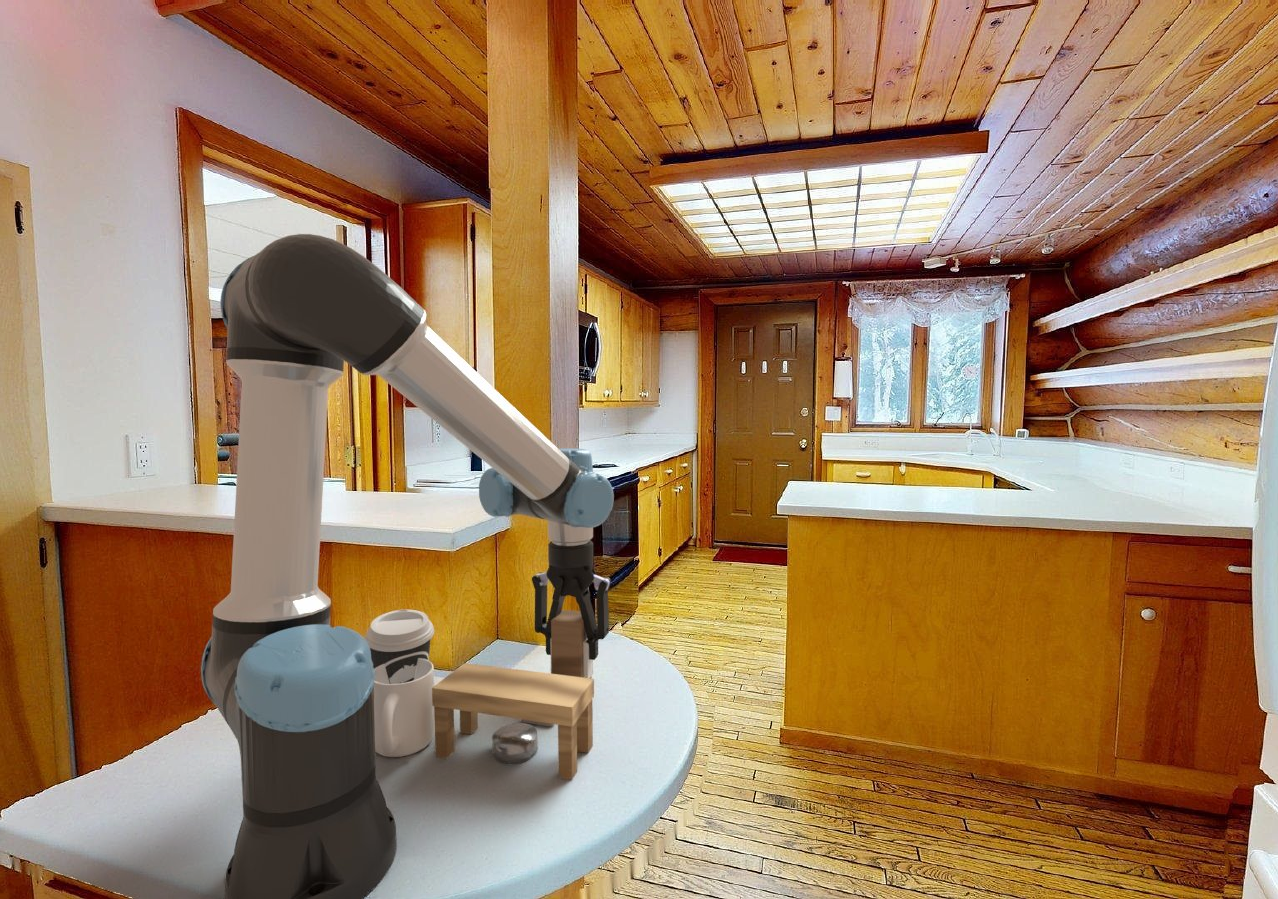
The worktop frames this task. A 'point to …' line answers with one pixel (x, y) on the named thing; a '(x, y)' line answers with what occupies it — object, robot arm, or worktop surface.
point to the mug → (403, 711)
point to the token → (515, 743)
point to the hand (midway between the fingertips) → (572, 674)
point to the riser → (516, 706)
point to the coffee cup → (400, 642)
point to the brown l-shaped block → (566, 647)
